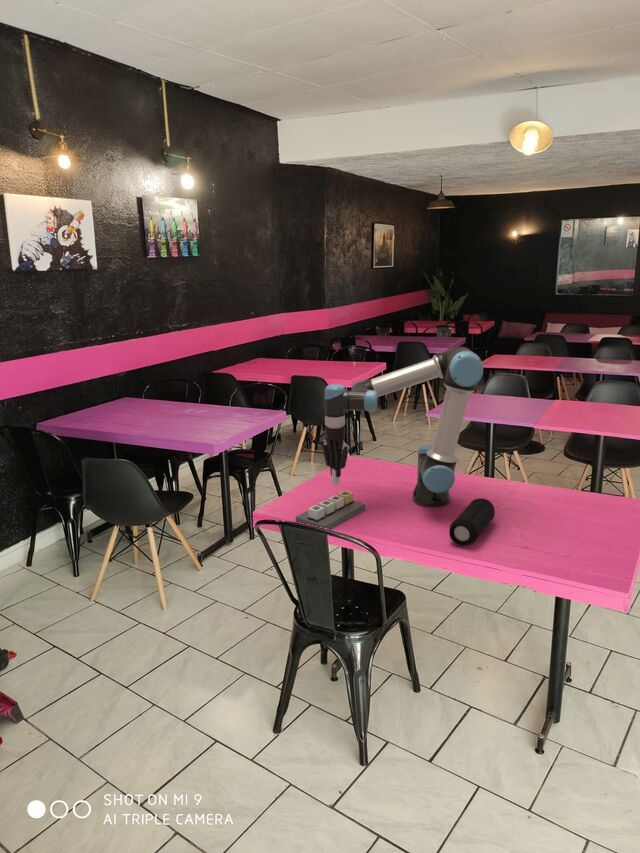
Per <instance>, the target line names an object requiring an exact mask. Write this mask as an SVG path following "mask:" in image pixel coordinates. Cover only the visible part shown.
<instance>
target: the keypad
mask: <svg viewBox="0 0 640 853" xmlns="http://www.w3.org/2000/svg"><path fill="white" fill-rule="evenodd" d="M334 510H335V511H333V512H331V513H329V514H328V515H327V514H325V516H324V517H322V518H320V519H318V520H316V519H313V518H310V517H308V510H307V511H304V512H302V513H301V514H299V515H297V516H295V523H296V522H300V523H304V524H309V525H313V526H317V527H322V528H327V529H330V530H332V529H334V528H335V527H337V526H339V525H341V524H342V523H344V522H346V521H348V520H350V519H352V518H354V517H355V516H356V515H358V514H360V513H362V512H363V511H366V503H363V502H362V501H357V500H354V499H353V501H352V502H350V503H348V504H344V506H343V507H341V508H339V509H334Z"/></svg>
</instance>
